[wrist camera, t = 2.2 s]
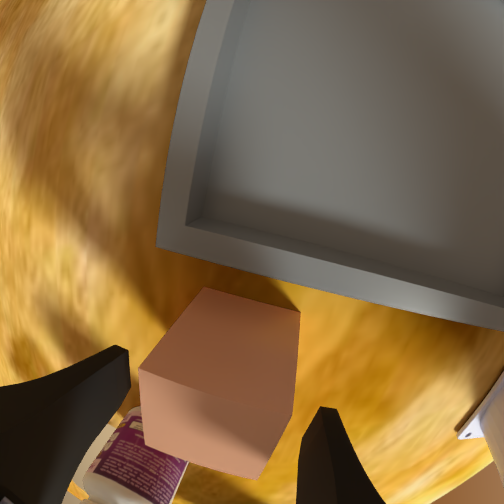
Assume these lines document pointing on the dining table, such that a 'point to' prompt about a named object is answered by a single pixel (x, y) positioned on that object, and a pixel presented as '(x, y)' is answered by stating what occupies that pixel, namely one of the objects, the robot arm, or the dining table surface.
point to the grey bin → (347, 150)
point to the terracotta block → (222, 383)
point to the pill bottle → (132, 469)
